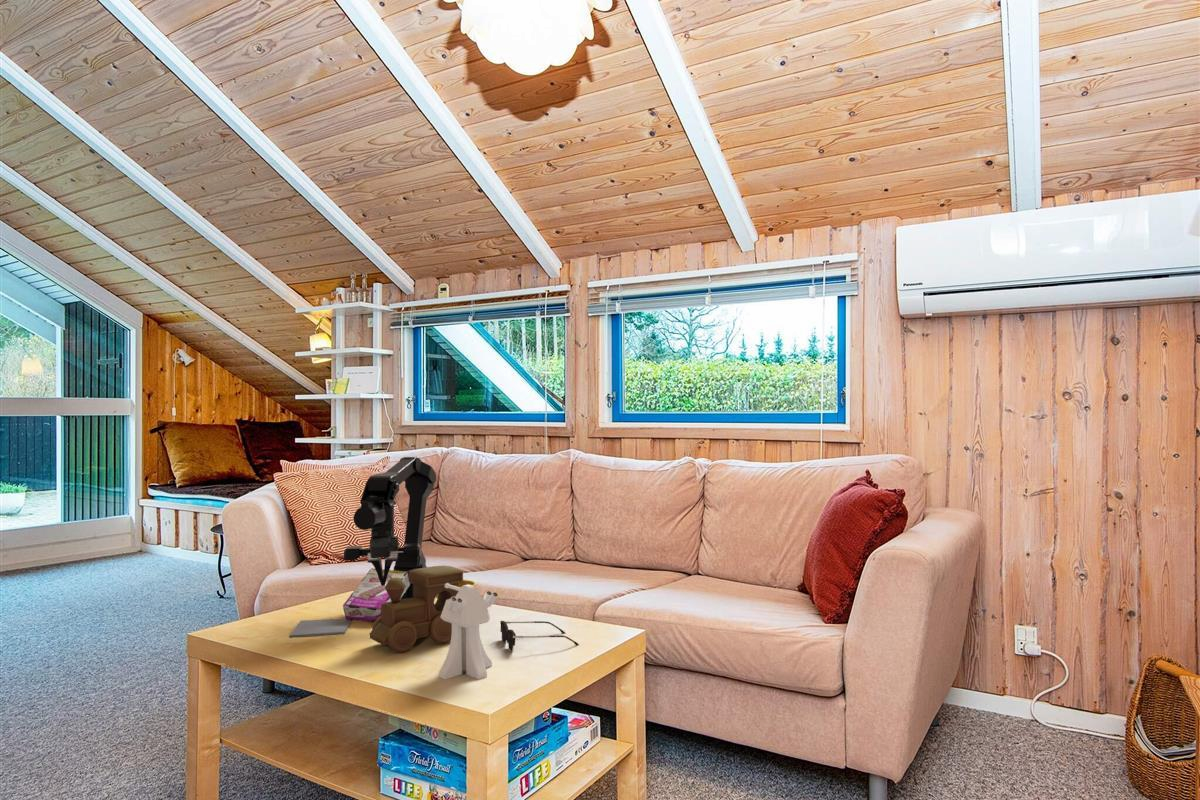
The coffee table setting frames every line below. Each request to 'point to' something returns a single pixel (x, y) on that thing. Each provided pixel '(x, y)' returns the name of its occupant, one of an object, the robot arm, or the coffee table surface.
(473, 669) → the toy gun turret
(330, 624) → the mat
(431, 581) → the wooden toy train
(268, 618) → the coffee table surface
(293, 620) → the coffee table surface
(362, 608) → the candy bar box
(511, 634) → the sunglasses
